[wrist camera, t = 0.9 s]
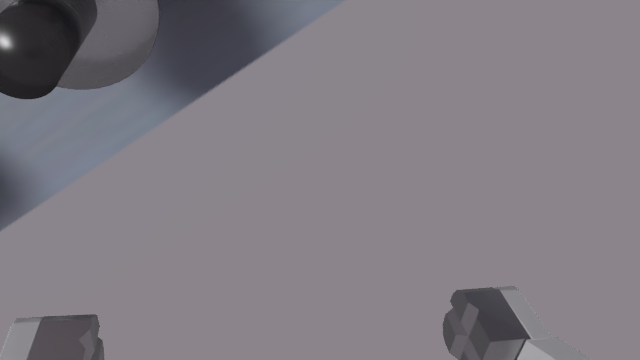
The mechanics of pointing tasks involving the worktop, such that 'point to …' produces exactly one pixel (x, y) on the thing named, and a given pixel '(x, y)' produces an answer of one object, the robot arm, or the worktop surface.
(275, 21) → the worktop surface
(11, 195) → the worktop surface
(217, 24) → the worktop surface
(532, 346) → the robot arm
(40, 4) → the lid
